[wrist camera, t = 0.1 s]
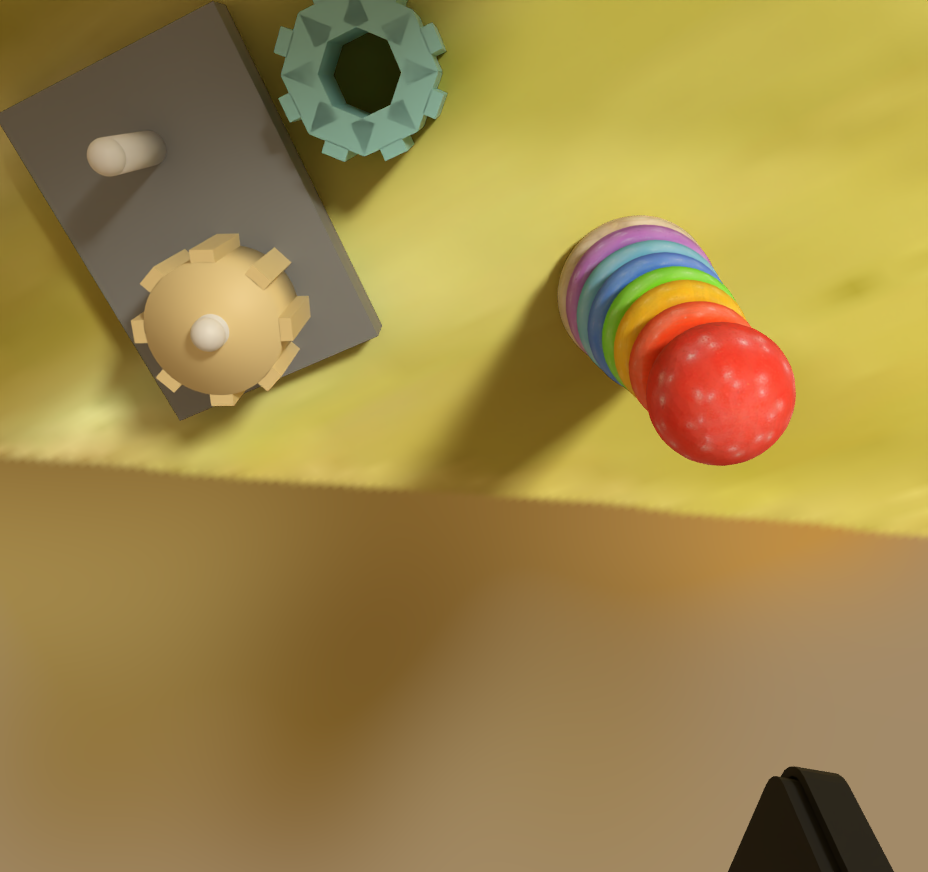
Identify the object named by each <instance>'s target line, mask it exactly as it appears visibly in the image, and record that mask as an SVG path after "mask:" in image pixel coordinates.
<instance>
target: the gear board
mask: <svg viewBox="0 0 928 872" xmlns="http://www.w3.org/2000/svg"><path fill="white" fill-rule="evenodd" d="M0 125H1V127H2V128H3V130H4V132H5V133H6V135H7V137H8V138H9V140H10V142H11V143H12V145H13V146H14V148H15V150H16V151H17V153H18V155H19V156H20V158H21V160H22V161H23V163H24V165H25V166H26V168H27V170H28V171H29V173H30V174H31V176H32V178H33V179H34V181H35V183H36V184H37V186H38V188H39V189H40V191H41V193H42V194H43V196H44V198H45V199H46V201H47V202H48V204H49V206H50V207H51V209H52V211H53V212H54V214H55V216H56V217H57V219H58V221H59V222H60V224H61V226H62V227H63V229H64V231H65V232H66V234H67V235H68V237H69V239H70V240H71V242H72V244H73V245H74V247H75V249H76V250H77V252H78V254H79V255H80V257H81V259H82V260H83V262H84V263H85V265H86V267H87V268H88V270H89V272H90V273H91V275H92V277H93V278H94V280H95V282H96V283H97V285H98V287H99V288H100V290H101V291H102V293H103V295H104V296H105V298H106V300H107V301H108V303H109V305H110V306H111V308H112V310H113V311H114V313H115V315H116V316H117V318H118V319H119V321H120V323H121V324H122V326H123V328H124V329H125V331H126V333H127V334H128V336H129V338H130V339H131V341H132V343H133V344H134V346H135V347H136V349H137V351H138V352H139V354H140V356H141V357H142V359H143V361H144V362H145V364H146V366H147V367H148V369H149V371H150V372H151V374H152V375H153V377H154V379H155V380H156V382H157V384H158V385H159V387H160V389H161V390H162V392H163V394H164V395H165V397H166V399H167V400H168V402H169V404H170V405H171V407H172V408H173V410H174V412H175V413H176V415H177V417H178V418H179V420H180V421H181V420H183V419H186V418H188V417H190V416H193V415H195V414H197V413H200V412H202V411H204V410H207V409H209V408H211V407H214V406H234V405H235V404H236V402H237V401H238V400H239V398H240V397H241V396H242V395H243V394H244V393H246V392H248V391H251V390H253V389H255V388H258V387H260V386H262V387H263V388H264V389H265V390H266V391H268V390H269V389H270V388H271V387H272V386H273V385H274V384H275V383H276V382H277V381H278V380H279V378H281V377H283V376H286V375H288V374H290V373H293V372H295V371H297V370H300V369H302V368H304V367H307V366H309V365H311V364H314V363H316V362H318V361H321V360H323V359H325V358H328V357H330V356H332V355H335V354H337V353H339V352H342V351H344V350H346V349H349V348H351V347H353V346H356V345H358V344H360V343H363V342H365V341H367V340H370V339H372V338H374V337H377V336H378V335H379V332H380V330H381V327H382V325H381V322H380V320H379V318H378V316H377V314H376V312H375V310H374V308H373V306H372V304H371V302H370V300H369V298H368V296H367V294H366V292H365V290H364V288H363V286H362V284H361V282H360V279H359V277H358V275H357V273H356V271H355V269H354V267H353V265H352V263H351V261H350V259H349V257H348V255H347V253H346V251H345V249H344V247H343V245H342V243H341V241H340V239H339V236H338V234H337V232H336V230H335V228H334V226H333V224H332V222H331V220H330V218H329V216H328V214H327V212H326V210H325V208H324V206H323V204H322V202H321V200H320V198H319V196H318V193H317V191H316V189H315V187H314V185H313V183H312V181H311V179H310V177H309V175H308V173H307V171H306V169H305V167H304V165H303V163H302V161H301V159H300V157H299V155H298V153H297V150H296V148H295V146H294V144H293V142H292V140H291V138H290V136H289V134H288V132H287V130H286V128H285V126H284V124H283V122H282V120H281V118H280V116H279V114H278V112H277V110H276V107H275V105H274V103H273V101H272V99H271V97H270V95H269V93H268V91H267V89H266V87H265V85H264V83H263V81H262V79H261V77H260V75H259V73H258V71H257V69H256V67H255V65H254V62H253V60H252V58H251V56H250V54H249V52H248V50H247V48H246V46H245V44H244V42H243V40H242V38H241V36H240V34H239V32H238V30H237V28H236V26H235V24H234V22H233V19H232V17H231V15H230V13H229V11H228V9H227V7H226V5H224V4H221V3H218V2H214V1H212V2H210V3H208V4H207V5H205V6H203V7H201V8H199V9H197V10H195V11H193V12H191V13H189V14H187V15H186V16H184V17H182V18H180V19H178V20H176V21H174V22H172V23H170V24H168V25H166V26H164V27H163V28H161V29H159V30H157V31H155V32H153V33H151V34H149V35H147V36H145V37H143V38H142V39H140V40H138V41H136V42H134V43H132V44H130V45H128V46H126V47H124V48H122V49H121V50H119V51H117V52H115V53H113V54H111V55H109V56H107V57H105V58H103V59H101V60H100V61H98V62H96V63H94V64H92V65H90V66H88V67H86V68H84V69H82V70H80V71H79V72H77V73H75V74H73V75H71V76H69V77H67V78H65V79H63V80H61V81H59V82H58V83H56V84H54V85H52V86H50V87H48V88H46V89H44V90H42V91H40V92H38V93H36V94H35V95H33V96H31V97H29V98H27V99H25V100H23V101H21V102H19V103H17V104H15V105H14V106H12V107H10V108H8V109H6V110H4V111H2V112H0Z"/></svg>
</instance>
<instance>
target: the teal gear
mask: <svg viewBox="0 0 928 872" xmlns="http://www.w3.org/2000/svg"><path fill="white" fill-rule="evenodd" d="M313 3H314V5H312V6H310V7H308V8H306V9H304V10H302V11H300V12H299V13H298V15H297V19H296V22H295V26H294V29H289V28H286V27H282V26H281V27H280V31H279V34H278V38H277V41H276V45H275V49H274V53H276V54H279V55H281V56H284V57H286V58H285V61H284V65H283V69H282V72H281V75H282V76H281V77H282V79H283V81H284V84H285V86H286V88H287V90H288V92H289V93H288V94H286V95H284V96H282V97H280V98H278V99H279V101H280V103H281V105H282V107H283V110H284V112H285V114H286V116H287V118H288V120H289V122H294V121H299V120H302V121H303V123H304V125H305V127H306V129H307V131H308V134H309V133H310V135H312V136H315V137H317V138H320V139H322V140H325V143H324V146H323V150H322V153H324V154H326V155H329V156H331V157H334V158H336V159H338V160H341V161H343V162H345V161H347V160H349V159H350V158H352V157H354V156H356V155H357V154H359V155H362V156H367V155H369V154H371V153H373V152H376V151H378V150H380V151H381V153H382V155H383V157H384V159H385V161H387V160H389V159H391V158H393V157H395V156H397V155H399V154H402V153H404V152H406V151H408V150H409V149H410V148H411V147H412V146H413V145H414V142H413V140H412V138H411V135H412V134H414V133H416V132H418V131H419V130H420V129H421V128H423V127H424V125H425V122H426V119H427V116H429V117H431V118H433V119H436V118H437V117H439V116H440V113H441V111H442V108H443V105H444V102H445V99H446V96H447V94H448V93H446V92H444V91H442V90H439V89H437V88H438V85H439V82H440V79H441V76H442V69H441V67H440V65H439V62H438V60H437V57H436V56H438V55H440V54H442V53H444V52H446V49H445V46H444V44H443V41H442V39H441V37H440V34H439V32H438V29H437V27H436V26H435V25H434V24H433V23H430V24H428V25H426V26H423V23H422V21H421V19H420V17H419V16H418V15H417V14H416V13H415V12H414V11H413V10H412V9H410V8H408V7H406V3H407V0H313ZM368 32H369V33H372V34H374V35H377V36H379V37H381V38H384V39H386V40H388V43H389V45H390V47H391V50H392V52H393V54H394V57H395V59H396V61H397V64H398V66H399V68H400V71H401V75H400V78H399V81H398V84H397V87H396V90H395V93H394V96H393V99H392V102H391V105H389V106H387V107H385V108H383V109H381V110H379V111H377V112H375V113H372V114H371V113H368V112H366V111H363V110H361V109H359V108H356V107H354V106H351V105H349V104H347V103H346V101H345V99H344V97H343V94H342V92H341V90H340V88H339V86H338V84H337V81H336V79H335V77H334V72H335V69H336V66H337V62H338V59H339V56H340V52H341V49H342V46H343V45H344V44H346V43H348V42H350V41H352V40H354V39H356V38H358V37H360V36H362V35H364V34H366V33H368Z"/></svg>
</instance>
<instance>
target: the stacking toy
mask: <svg viewBox="0 0 928 872" xmlns="http://www.w3.org/2000/svg"><path fill="white" fill-rule="evenodd" d="M558 307H559V313H560V316H561V319H562V322H563V325H564V327H565V329H566V331H567V332H568V334H569V336H570V337H571V339H572V340H573V341H574V342H575V344H576V345H577V346H578V347H579V348H580V349H581V350H582V351H584V352H585V353H586V354H587V355H588V356H589V357H590V358H591V359H592V361H593V362H594V363H595V364H596V365H597V366H598V367H599V368H601V369H602V370H603V371H604V372H605V374H606V375H607V376H609V377H610V378H611V379H612V380H613V381H615V382H616V383H618V384H619V385H621V386H623V387H625V388H626V389H627V390H628V391H630V393H632V394H633V395H634V396H635V397H636V398H637V399H638V401H639V402H640V403H641V404H642V406H643V407H644V408H645V409H646V410H647V411H648V412H649V416H650V419H651V421H652V424H653V426H654V427H655V429H656V431H657V433H658V434H659V436H660V437H661V439H662V440H663V441H664V442H665V443H666V444H667V445H668V446H669V447H671V448H672V449H673V450H674V451H676V452H677V453H679V454H680V455H682V456H684V457H685V458H687V459H689V460H692V461H695V462H699V463H703V464H707V465H720V466H725V465H732V464H738V463H742V462H745V461H748V460H750V459H753V458H754V457H756V456H758V455H760V454H762V453H763V452H765V451H766V450H767V449H769V448H770V447H771V446H772V445H773V444H774V443H775V442H776V441H777V440H778V439H779V437H780V436H781V435H782V434H783V432H784V431H785V429H786V428H787V426H788V424H789V421H790V419H791V416H792V414H793V410H794V405H795V397H796V392H795V379H794V374H793V372H792V369H791V366H790V364H789V362H788V360H787V358H786V357H785V355H784V354H783V352H782V351H781V349H780V348H779V347H778V346H777V345H776V344H775V343H774V342H773V341H772V340H771V339H769V338H768V337H767V336H766V335H764V334H762V333H761V332H759V331H757V330H755V329H753V328H751V326H750V325H749V323H748V322H747V321H746V319H745V316H744V314H743V312H742V311H741V309H740V307H739V306H738V304H737V303H736V301H735V299H734V297H733V296H732V294H731V293H730V291H729V290H728V289H727V288H726V287H725V286H724V285H723V283H722V282H721V280H720V279H719V277H718V275H717V273H716V272H715V270H714V269H713V267H712V265H711V262H710V261H709V259H708V257H707V256H706V254H705V253H704V252H703V250H702V249H701V248H700V246H699V245H698V243H697V242H696V241H695V240H694V239H693V237H692V236H691V235H690V234H688V233H687V232H686V231H685V230H684V229H682V228H681V227H679V226H678V225H676V224H674V223H672V222H670V221H667V220H665V219H661V218H658V217H653V216H641V215H639V216H628V217H623V218H618V219H615V220H612V221H609V222H607V223H604V224H602V225H600V226H599V227H597V228H595V229H594V230H592V231H591V232H590V233H588V234H587V235H586V236H585V237H584V238H582V239H581V240H580V241H579V243H578V244H577V245H576V246H575V248H574V249H573V250H572V252H571V253H570V255H569V257H568V258H567V260H566V262H565V264H564V267H563V269H562V272H561V276H560V280H559V285H558Z"/></svg>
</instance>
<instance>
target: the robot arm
mask: <svg viewBox="0 0 928 872" xmlns="http://www.w3.org/2000/svg"><path fill="white" fill-rule="evenodd" d="M728 872H894V871H893V869H892V867H891V865H890V864H889V862H888V860H887V858H886V856H885V854H884V852H883V850H882V848H881V846H880V844H879V842H878V841H877V839H876V837H875V835H874V833H873V831H872V829H871V827H870V826H869V823H868V822H867V819H866V818H865V816H864V814H863V812H862V810H861V808H860V806H859V804H858V803H857V800H856V798H855V797H854V795H853V793H852V791H851V789H850V787H849V785H848V784H847V782H846V781H845V779H844V778H843V777H841V776H840V775H839V774H836V773H830V772H824V771H818V770H812V769H806V768H800V767H788V768H787V769H786V770H784V772H783V774H782V775H781V777H777V776H773V777H772V778H771V779H769V781H768V783H767V784H766V787H765V788H764V791H763V793H762V795H761V798H760V800H759V802H758V805H757V807H756V809H755V811H754V814H753V816H752V818H751V820H750V823H749V825H748V827H747V830H746V832H745V834H744V836H743V839H742V841H741V844H740V846H739V848H738V850H737V853H736V855H735V857H734V859H733V862H732V864H731V866H730V868H729V871H728Z"/></svg>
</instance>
